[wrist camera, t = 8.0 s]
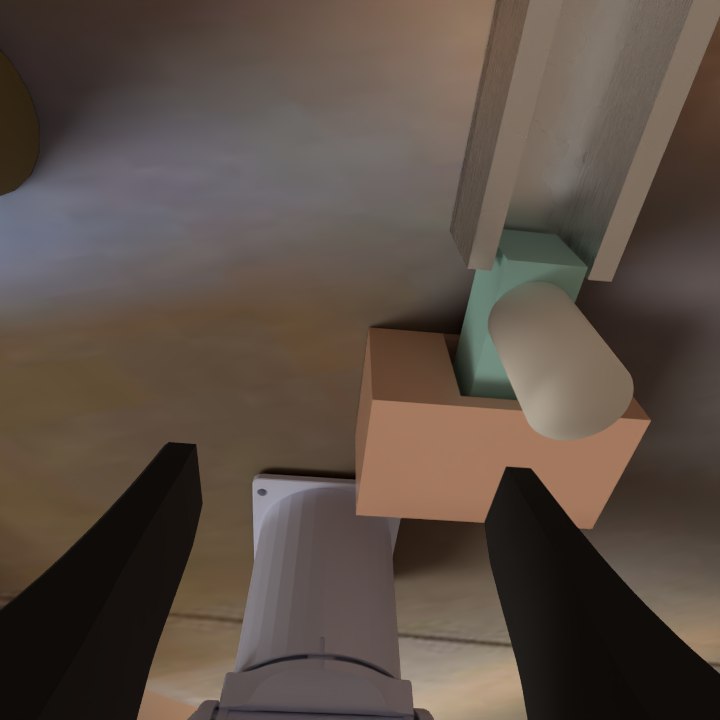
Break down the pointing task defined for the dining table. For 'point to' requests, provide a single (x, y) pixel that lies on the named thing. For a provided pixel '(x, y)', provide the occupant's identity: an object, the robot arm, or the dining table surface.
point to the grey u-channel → (575, 121)
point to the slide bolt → (539, 341)
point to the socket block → (466, 440)
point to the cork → (16, 129)
